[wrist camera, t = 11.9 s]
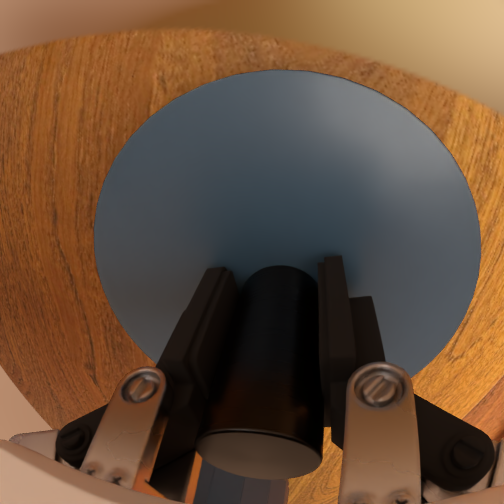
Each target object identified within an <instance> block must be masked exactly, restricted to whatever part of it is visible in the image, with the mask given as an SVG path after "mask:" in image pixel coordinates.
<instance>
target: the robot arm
mask: <svg viewBox="0 0 504 504" xmlns="http://www.w3.org/2000/svg"><path fill="white" fill-rule="evenodd" d="M317 266H318V303H319V366H320V378H321V390H322V394H323V397H324V427H331V441H332V442H333V443H334V444H335V445H337V446H338V447H339V448H341V449H342V450H343V458H342V469H341V479H340V488H339V496H338V504H504V438H502V439H501V440H500V441H493V440H491V439H490V438H489V436H488V435H487V434H485V433H484V432H483V431H481V430H479V429H478V428H476V427H474V426H472V425H470V424H468V423H466V422H464V421H463V420H461V419H459V418H457V417H455V416H453V415H452V414H450V413H448V412H446V411H444V410H442V409H441V408H439V407H437V406H435V405H433V404H432V403H430V402H428V401H426V400H424V399H423V398H421V397H419V396H417V395H416V394H414V392H413V385H412V381H411V378H410V376H409V374H408V373H407V372H406V371H405V370H404V369H403V368H401V367H400V366H398V365H396V364H393V363H390V362H386V359H385V354H384V349H383V344H382V339H381V334H380V330H379V325H378V321H377V316H376V312H375V307H374V303H373V299H372V296H362V297H352V298H349V296H348V290H347V283H346V277H345V271H344V265H343V259H342V255H340V256H330V257H324V262H318V263H317ZM239 298H240V296H239V293H238V289H237V285H236V282H235V278H234V275H233V272H232V271H227V269H226V268H225V267H216V268H207V270H206V271H205V273H204V275H203V277H202V279H201V281H200V283H199V285H198V287H197V289H196V291H195V293H194V295H193V297H192V299H191V301H190V303H189V304H188V306H187V308H186V310H184V312H183V313H182V315H181V317H180V319H179V321H178V323H177V325H176V327H175V329H174V331H173V333H172V335H171V337H170V339H169V341H168V343H167V345H166V347H165V349H164V351H163V353H162V355H161V357H160V359H159V361H158V363H157V365H156V367H151V366H146V367H140V368H137V369H134V370H132V371H130V372H129V373H127V374H126V375H125V376H124V377H123V378H122V379H121V380H120V382H119V383H118V385H117V387H116V389H115V391H114V393H113V396H112V398H111V400H110V402H109V403H108V404H106V405H104V406H102V407H100V408H98V409H96V410H94V411H92V412H91V413H89V414H87V415H84V416H82V417H80V418H78V419H76V420H74V421H72V422H70V423H69V424H67V425H66V426H64V427H63V428H62V429H61V431H60V430H59V429H55V430H48V431H40V432H32V433H23V434H17V435H14V436H13V437H12V438H11V439H10V440H9V441H6V440H0V504H193V501H194V497H195V492H196V487H197V482H198V478H199V473H200V468H201V464H202V459H203V458H202V457H201V456H200V455H199V454H198V453H197V451H196V449H195V445H194V442H195V438H196V435H197V432H198V429H199V426H200V423H201V419H202V416H203V413H204V410H205V407H206V404H207V400H208V397H209V394H210V391H211V388H212V384H213V381H214V378H215V375H216V372H217V368H218V365H219V362H220V359H221V356H222V353H223V349H224V346H225V343H226V340H227V337H228V333H229V330H230V327H231V324H232V321H233V317H234V314H235V311H236V308H237V305H238V301H239Z"/></svg>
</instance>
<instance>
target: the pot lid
mask: <svg viewBox="0 0 504 504" xmlns="http://www.w3.org/2000/svg"><path fill="white" fill-rule="evenodd" d="M94 251H95V258H96V265H97V270H98V274H99V277H100V281H101V284H102V288H103V290H104V293H105V295H106V297H107V300H108V302H109V304H110V306H111V308H112V310H113V312H114V314H115V315H116V317H117V319H118V320H119V322H120V324H121V325H122V327H123V328H124V329H125V331H126V332H127V333H128V335H129V336H130V337H131V339H132V340H133V341H134V342H135V343H136V344H137V346H138V347H139V348H140V349H141V350H142V351H143V352H144V353H145V354H146V355H147V356H148V357H149V358H150V359H151V360H153V361H154V362H155V363H156V364H157V363H158V361H159V359H160V357H161V355H162V353H163V351H164V349H165V347H166V345H167V343H168V341H169V339H170V337H171V335H172V333H173V331H174V329H175V327H176V325H177V323H178V321H179V319H180V317H181V315H182V313H183V312H184V310H186V308H187V306H188V304H189V303H190V301H191V299H192V297H193V295H194V293H195V291H196V289H197V287H198V285H199V283H200V281H201V279H202V277H203V275H204V273H205V271H206V270H207V268H216V267H225V268H226V269H227V271H232V272H233V275H234V278H235V282H236V285H237V289H238V293H239V296H240V298H239V301H238V305H237V308H236V311H235V314H234V317H233V321H232V324H231V327H230V330H229V333H228V337H227V340H226V343H225V346H224V349H223V353H222V356H221V359H220V362H219V365H218V368H217V372H216V375H215V378H214V381H213V384H212V388H211V391H210V394H209V397H208V400H207V404H206V407H205V410H204V413H203V416H202V419H201V423H200V426H199V429H198V432H197V435H196V438H195V442H194V445H195V449H196V451H197V453H198V454H199V455H200V456H201V457H202V458H203V459H204V460H205V461H207V462H208V463H210V464H211V465H213V466H215V467H217V468H219V469H222V470H224V471H227V472H229V473H232V474H236V475H240V476H244V477H249V478H256V479H268V480H278V479H289V478H295V477H300V476H303V475H306V474H309V473H311V472H313V471H314V470H316V469H317V468H318V467H319V466H320V464H321V462H322V459H323V436H324V397H323V394H322V390H321V378H320V366H319V303H318V266H317V263H318V262H324V257H330V256H340V255H342V259H343V265H344V271H345V277H346V283H347V290H348V296H349V298H352V297H362V296H372V299H373V303H374V307H375V312H376V316H377V321H378V325H379V330H380V334H381V339H382V344H383V349H384V354H385V359H386V362H390V363H393V364H396V365H398V366H400V367H401V368H403V369H404V370H405V371H406V372H407V373H408V374H409V376H410V378H412V377H413V376H414V375H416V374H417V373H418V372H419V371H421V370H422V369H423V368H424V367H426V366H427V365H428V364H429V363H430V362H431V361H432V360H433V359H434V358H435V357H436V356H437V355H438V354H439V353H440V352H441V351H442V349H443V348H444V347H445V346H446V344H447V343H448V342H449V341H450V339H451V338H452V337H453V335H454V334H455V332H456V330H457V329H458V327H459V326H460V324H461V322H462V320H463V319H464V317H465V315H466V312H467V310H468V308H469V305H470V303H471V301H472V298H473V295H474V291H475V288H476V284H477V280H478V276H479V268H480V259H481V236H480V226H479V220H478V215H477V210H476V206H475V202H474V199H473V197H472V194H471V191H470V189H469V186H468V183H467V181H466V178H465V176H464V175H463V173H462V171H461V169H460V168H459V166H458V164H457V163H456V161H455V159H454V157H453V156H452V154H451V153H450V151H449V150H448V149H447V148H446V146H445V145H444V144H443V143H442V142H441V140H440V139H439V138H438V137H437V136H436V135H435V133H434V132H433V131H432V130H431V129H430V128H429V127H428V126H427V125H425V124H424V123H423V122H422V121H421V120H420V119H419V118H417V117H416V116H415V115H414V114H413V113H411V112H410V111H409V110H408V109H406V108H405V107H403V106H402V105H400V104H398V103H397V102H395V101H394V100H392V99H390V98H388V97H387V96H385V95H383V94H382V93H380V92H378V91H376V90H374V89H371V88H369V87H366V86H364V85H361V84H358V83H356V82H353V81H351V80H348V79H345V78H341V77H337V76H332V75H328V74H323V73H317V72H312V71H303V70H264V71H256V72H248V73H241V74H236V75H232V76H229V77H225V78H222V79H219V80H216V81H213V82H209V83H206V84H204V85H201V86H199V87H197V88H195V89H193V90H191V91H189V92H187V93H185V94H183V95H181V96H179V97H177V98H175V99H174V100H173V101H171V102H170V103H168V104H167V105H166V106H164V107H163V108H161V109H160V110H159V111H157V112H156V113H155V114H153V115H152V116H151V117H150V118H149V119H148V120H147V121H145V122H144V124H143V125H142V126H141V127H140V128H139V129H138V130H137V131H136V132H135V133H134V134H133V135H132V136H131V137H130V138H129V140H128V141H127V142H126V144H125V145H124V147H123V148H122V149H121V151H120V152H119V154H118V155H117V157H116V158H115V160H114V162H113V164H112V166H111V168H110V170H109V172H108V174H107V176H106V178H105V180H104V183H103V186H102V190H101V193H100V196H99V199H98V203H97V208H96V215H95V222H94Z"/></svg>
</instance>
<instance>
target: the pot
mask: <svg viewBox="0 0 504 504" xmlns="http://www.w3.org/2000/svg"><path fill="white" fill-rule="evenodd" d="M288 485H289V482H288V479H278V480H268V479H256V478H249V477H244V476H240V475H236V474H232V473H229V472H227V471H224V470H222V469H219V468H217V467H215V466H213V465H211V464H210V463H208V462H207V461H205V460H204V459H202V464H201V468H200V473H199V478H198V482H197V487H196V492H195V497H194V501H193V504H287V502H288V494H289V487H288Z"/></svg>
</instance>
